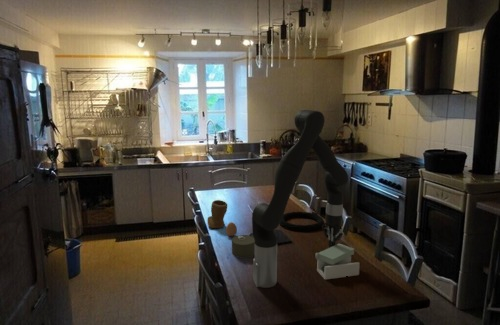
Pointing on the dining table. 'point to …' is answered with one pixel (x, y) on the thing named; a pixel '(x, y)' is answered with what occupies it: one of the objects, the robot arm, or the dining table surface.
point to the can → (243, 246)
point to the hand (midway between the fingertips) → (331, 247)
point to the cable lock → (302, 227)
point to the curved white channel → (338, 268)
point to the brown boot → (217, 214)
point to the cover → (335, 254)
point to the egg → (231, 229)
